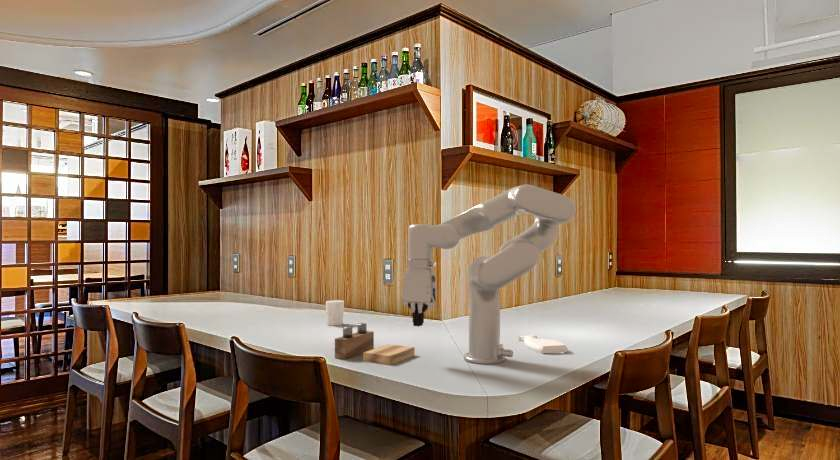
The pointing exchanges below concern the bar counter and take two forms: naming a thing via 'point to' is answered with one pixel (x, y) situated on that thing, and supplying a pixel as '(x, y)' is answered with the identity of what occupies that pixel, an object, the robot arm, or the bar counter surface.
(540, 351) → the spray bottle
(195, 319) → the bar counter surface
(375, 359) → the oak plate
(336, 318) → the white cup
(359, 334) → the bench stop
